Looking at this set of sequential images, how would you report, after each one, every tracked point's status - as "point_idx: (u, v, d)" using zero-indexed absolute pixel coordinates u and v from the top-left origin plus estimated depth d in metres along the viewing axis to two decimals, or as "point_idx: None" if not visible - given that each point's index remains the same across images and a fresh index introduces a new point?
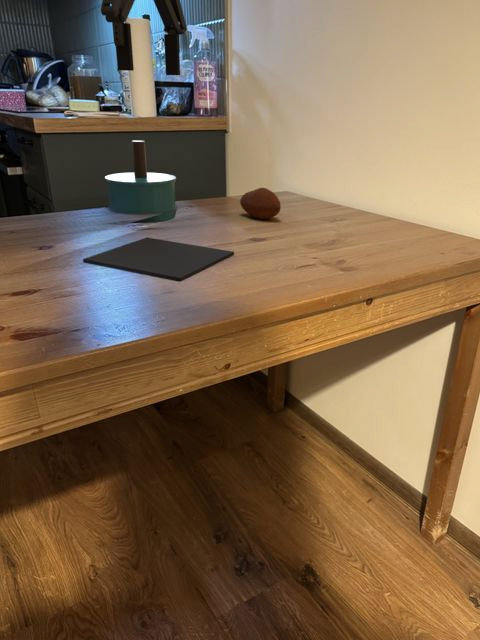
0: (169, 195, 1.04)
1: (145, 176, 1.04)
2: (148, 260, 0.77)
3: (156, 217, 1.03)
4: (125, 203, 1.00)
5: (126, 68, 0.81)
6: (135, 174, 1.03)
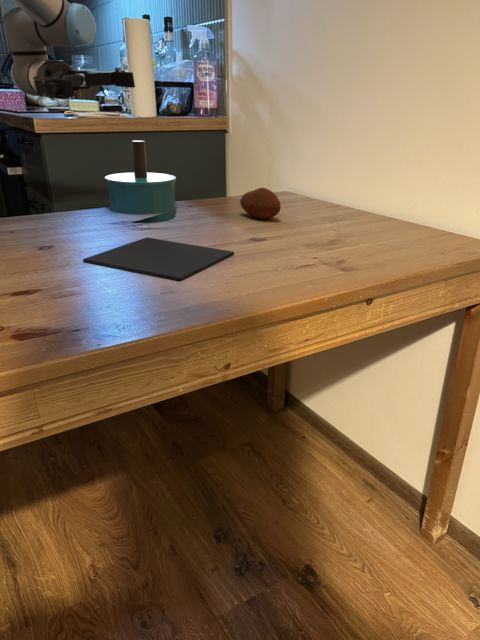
0: (169, 195, 1.04)
1: (145, 176, 1.04)
2: (148, 260, 0.77)
3: (156, 217, 1.03)
4: (125, 203, 1.00)
5: (133, 82, 1.02)
6: (135, 174, 1.03)
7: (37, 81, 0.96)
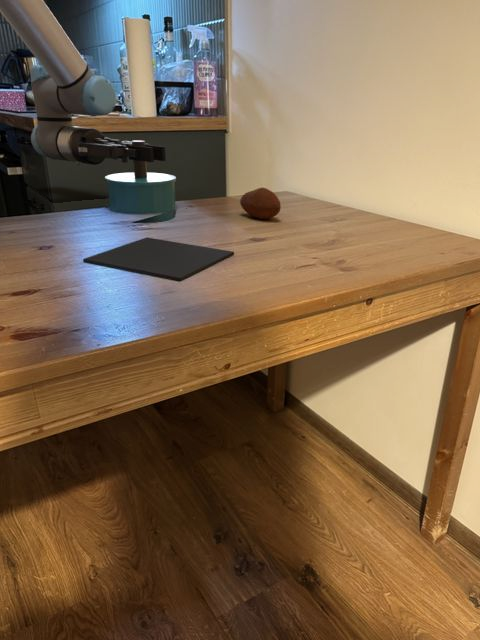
0: (169, 195, 1.04)
1: (145, 176, 1.04)
2: (148, 260, 0.77)
3: (156, 217, 1.03)
4: (125, 203, 1.00)
5: (164, 156, 1.01)
6: (135, 174, 1.03)
7: (115, 146, 1.00)
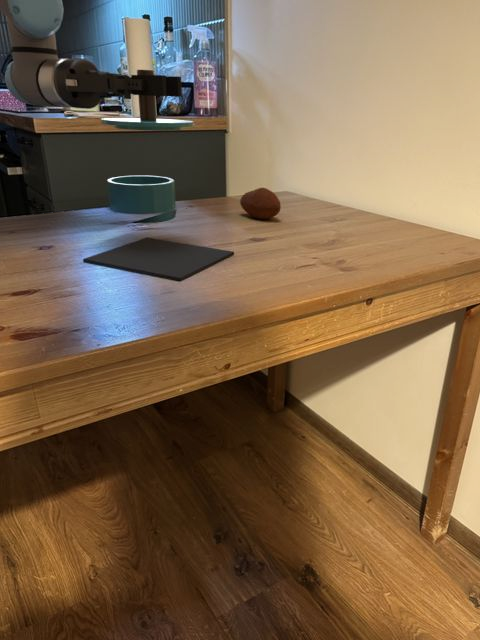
0: (169, 195, 1.04)
1: (154, 119, 0.79)
2: (148, 260, 0.77)
3: (156, 217, 1.03)
4: (125, 203, 1.00)
5: None
6: (141, 116, 0.78)
7: (115, 75, 0.75)
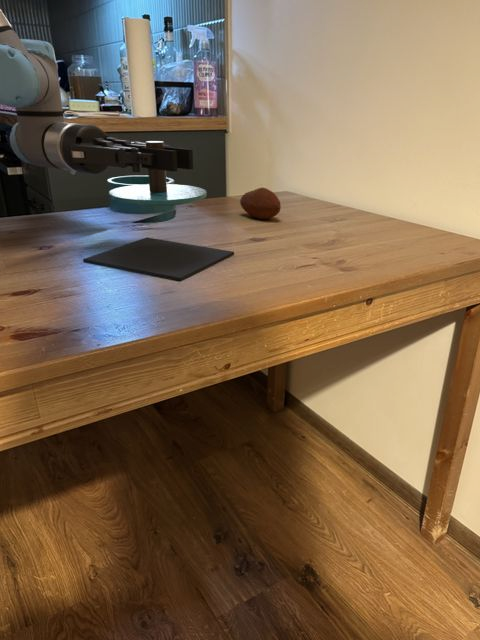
0: None
1: (164, 190, 0.75)
2: (148, 260, 0.77)
3: (156, 217, 1.03)
4: (125, 203, 1.00)
5: None
6: (151, 188, 0.75)
7: (124, 149, 0.71)
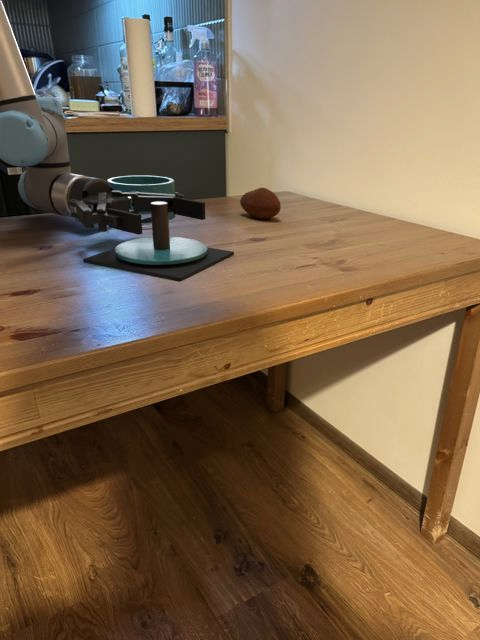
0: None
1: (168, 247, 0.79)
2: None
3: None
4: None
5: None
6: (155, 245, 0.79)
7: (88, 212, 0.72)
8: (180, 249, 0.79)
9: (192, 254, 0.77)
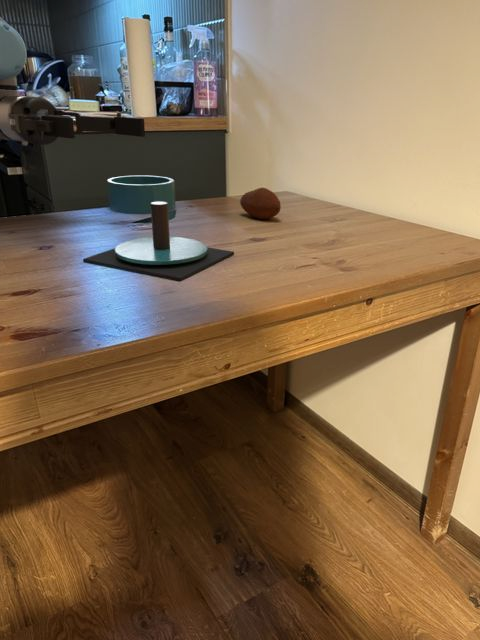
0: (169, 195, 1.04)
1: (168, 247, 0.79)
2: None
3: None
4: (125, 203, 1.00)
5: None
6: (155, 245, 0.79)
7: (22, 116, 0.73)
8: (180, 249, 0.79)
9: (192, 254, 0.77)
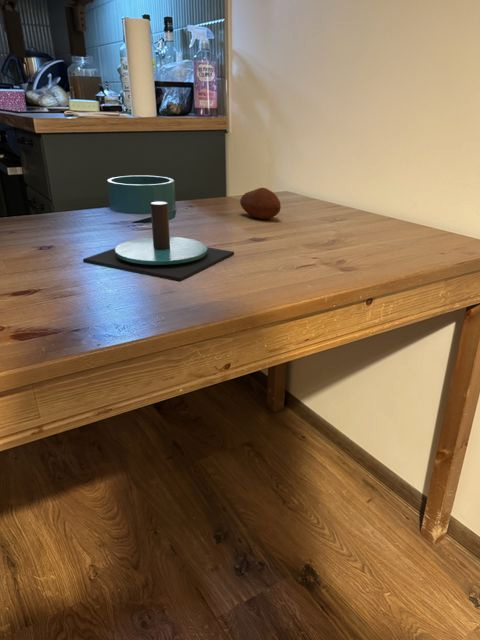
0: (169, 195, 1.04)
1: (168, 247, 0.79)
2: None
3: None
4: (125, 203, 1.00)
5: (82, 54, 0.80)
6: (155, 245, 0.79)
7: None
8: (180, 249, 0.79)
9: (192, 254, 0.77)
